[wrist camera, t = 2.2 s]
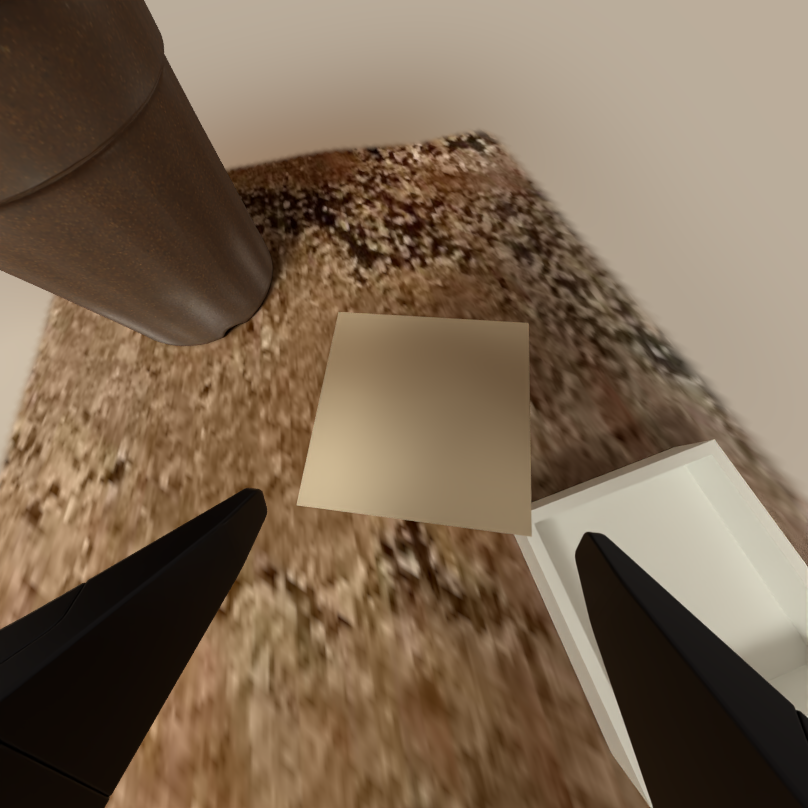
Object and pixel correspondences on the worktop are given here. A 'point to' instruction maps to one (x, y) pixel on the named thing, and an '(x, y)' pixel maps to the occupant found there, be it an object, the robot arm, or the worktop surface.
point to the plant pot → (117, 177)
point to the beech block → (424, 423)
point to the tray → (677, 570)
